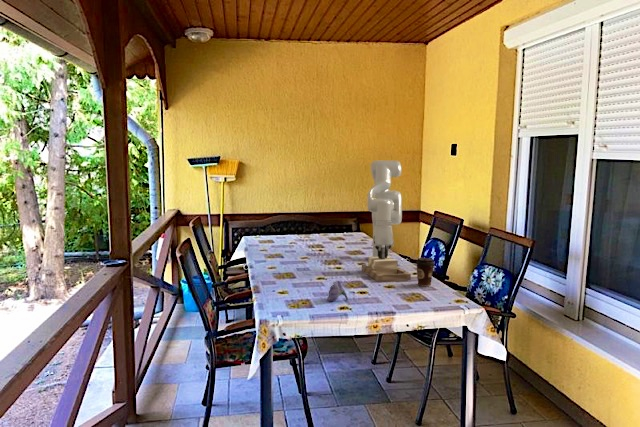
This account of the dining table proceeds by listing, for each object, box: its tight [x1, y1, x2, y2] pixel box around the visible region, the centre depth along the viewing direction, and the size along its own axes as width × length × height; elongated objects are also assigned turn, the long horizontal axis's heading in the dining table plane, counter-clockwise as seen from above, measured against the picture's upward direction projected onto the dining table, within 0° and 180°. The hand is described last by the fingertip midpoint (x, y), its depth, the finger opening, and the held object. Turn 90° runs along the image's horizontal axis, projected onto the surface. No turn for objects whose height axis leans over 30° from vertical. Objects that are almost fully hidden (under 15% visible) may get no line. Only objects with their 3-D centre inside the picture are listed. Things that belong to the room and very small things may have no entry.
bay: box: [361, 264, 412, 283], centre depth 255 cm, size 26×17×3 cm, turn 14°
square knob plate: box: [367, 247, 399, 275], centre depth 259 cm, size 12×12×13 cm
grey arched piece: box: [326, 280, 349, 302], centre depth 210 cm, size 9×9×10 cm
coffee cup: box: [415, 257, 435, 287], centre depth 235 cm, size 9×8×13 cm
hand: (382, 257), depth 258 cm, fingers closed on square knob plate, 2 cm apart
